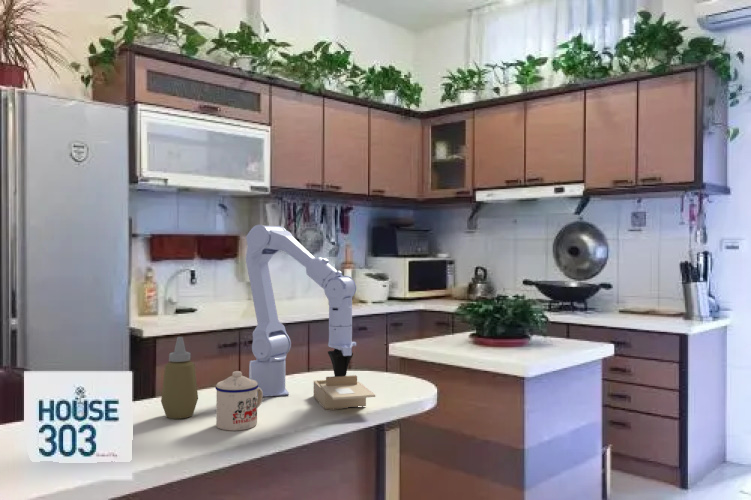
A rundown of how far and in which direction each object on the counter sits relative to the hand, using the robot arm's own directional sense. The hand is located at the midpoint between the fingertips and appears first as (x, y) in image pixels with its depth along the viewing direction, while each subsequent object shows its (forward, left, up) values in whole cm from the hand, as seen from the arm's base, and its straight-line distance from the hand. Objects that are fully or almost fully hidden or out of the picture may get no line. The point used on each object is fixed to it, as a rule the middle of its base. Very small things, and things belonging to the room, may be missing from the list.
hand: (340, 379), depth 157 cm
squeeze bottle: (-38, -2, -6) cm, 38 cm away
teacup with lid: (-25, -12, -6) cm, 28 cm away
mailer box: (0, +1, -6) cm, 6 cm away
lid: (0, -7, -1) cm, 7 cm away
